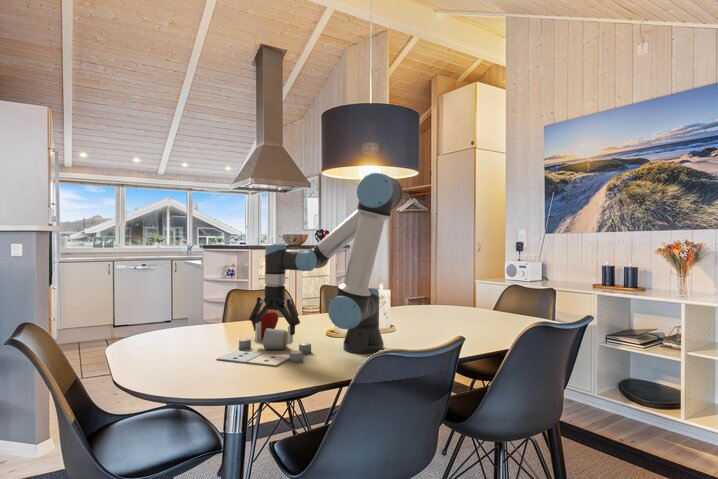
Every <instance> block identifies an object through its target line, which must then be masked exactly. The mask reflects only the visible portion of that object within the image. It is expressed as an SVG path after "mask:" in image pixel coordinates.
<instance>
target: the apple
mask: <svg viewBox="0 0 718 479" xmlns="http://www.w3.org/2000/svg"><path fill="white" fill-rule="evenodd" d="M261 310H262V309H260V310H259V312H258V314H259V313H260V312H261ZM258 314H257V315H258ZM256 317H257V316H256ZM278 321H279V314H278V313H277V311H276V310H270V309H269V310H268V311H267V312H266V313H265V315H264V316H263V317H262V318H261V320H260V321H259V322H261V339H264V333H265V330H266V329H267V328H269V329H276V328H277V324H278ZM251 324H252V327H253V328H254V322H253V321H251Z"/></svg>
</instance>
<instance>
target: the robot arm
mask: <svg viewBox="0 0 718 479" xmlns="http://www.w3.org/2000/svg"><path fill="white" fill-rule="evenodd" d="M403 197H404V190H403V187H402V185H401V183H400V182H399V181H398V180H397V179H396V178H393V177H391V176H388V175H387V174H384V173H380V172H372V173H369V174H366V175H365V176H363V177H362V178H361V179H360V181H359V182H358V184H357V187H356V198H357V199H358V204H357V208H356V210H355V211H354V212H352V214H350V215H349V216H348V217H346V219H344V221H342V222H341V223H340V224H339V225H337V227H336V228H334V229H333V230H331V232H330V233H328V234H327V235H326V236H325V237H323V238H322V239H321V240H320V241H319V242H318V243H317V244H316V245H314V246H313V247H312V248H309V249H308V248H307V249H287V246H286V244H285V243H268V244H266V245H265V254H264V260H265V261H264V263H265V266H264V268H265V269H264V270H265V271H264V284H265V286H264V297H263V296H258V297H256V303H255V306H254V307H253V309H252V311H251V313H250V316H249V319H248V320H249V322H252V321H253V322H254V327H253V332H255V334H254V335H255V337H254V338H255V341H260V340H261V339H262V338H261V322H259V321H260V320H261V318H262V317H263V316H264V315H265V313H266V312H267V311H268V310H270V311H278V312H279V313H280V314H282V317H283V318H284V319H285V320H286V322H287V323H288V325H287V332H288V343H287V345H291V344H293V343H294V341H293V340H294V335H295V334H296V326H297V325H300V324H301V321H300V319H299V316H298V314H297V311H296V308H295V306H294V301H293V298H287V299H286V298H285V296H286V286H285V284H286V271H288V270H289V271H298V272H299V271H300V272H311V271H312V272H313V270H314V269H321V268H323V267H326V265H328V263H329V261H330V259H331V258H333V256H335V255H336V254H337V253H339V252H340V251H341V250H342V249H343V248H344V247H346V246H347V245H348V244H349V243H350V242H351V241H353V243H352V247H351V250H350V251H351V252H350V255H349V260H348V263H347V266H346V267H347V269H346V272H345V276H344V280H343V282H341V283H339V285H338V286H337V291H336V294H335V297H334V298H332V299H331V301H330V302H329V303H328V304H329V305H328V307H327V308H328V309H327V313H328V318H329V320H330V321H331V323H332V324H333V325H334V326H335V327H337V328H338V329H341V330H347V331H346V333H345V337H344V340H343V350H344V351H346V352H349V353H355V354H373V353H378V352H377V351H379V350H382V349H383V350H384V340H383V337H382V334H381V333H382V332H381V331H380V298H381V297H380V290H379V289H377V288H375V287H374V288H373V287H369V285H370V281H371V276H372V273H373V268H374V264H375V262H376V257H377V253H378V248H379V245H380V241H381V236H382V233H383V228H384V224H385V221H386V220H388V219H390V218H391V215H392V211H393V210H395V209H396V208H397V207H398V206H399V205H400V204H401V203H402V200H403ZM263 303H264V304H265V305H264V306H263V307H262V305H263ZM285 305H286V306H285ZM261 307H262V309H261ZM286 307H287V308H286ZM260 310H261V312H260V313H259V314H258V312H259V311H260ZM257 314H258V315H257ZM256 316H257V317H256ZM383 350H382V351H383ZM379 352H380V351H379Z"/></svg>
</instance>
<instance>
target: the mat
mask: <svg viewBox="0 0 718 479" xmlns="http://www.w3.org/2000/svg"><path fill="white" fill-rule="evenodd" d="M216 361H219V362H220V361H222V362H230V363H238V364H245V365H246V364H248V365H258V366H266V367H274V368H277V367H279V366H281V365H283V364H284V363H286V362H287V361H290V355H281V354H270V353H262V352H250V351H244V350H235V351H232V352H230V353H227V354H224V355H222V356H220V357H218V358H216Z"/></svg>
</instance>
